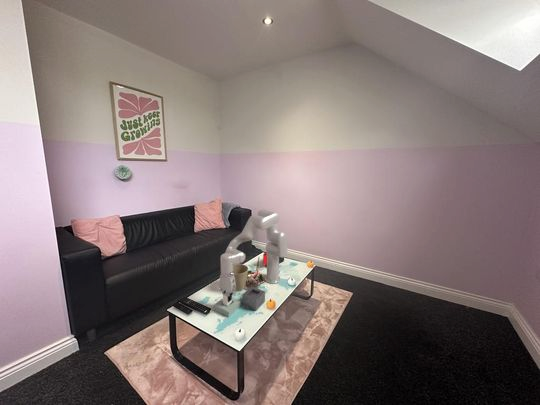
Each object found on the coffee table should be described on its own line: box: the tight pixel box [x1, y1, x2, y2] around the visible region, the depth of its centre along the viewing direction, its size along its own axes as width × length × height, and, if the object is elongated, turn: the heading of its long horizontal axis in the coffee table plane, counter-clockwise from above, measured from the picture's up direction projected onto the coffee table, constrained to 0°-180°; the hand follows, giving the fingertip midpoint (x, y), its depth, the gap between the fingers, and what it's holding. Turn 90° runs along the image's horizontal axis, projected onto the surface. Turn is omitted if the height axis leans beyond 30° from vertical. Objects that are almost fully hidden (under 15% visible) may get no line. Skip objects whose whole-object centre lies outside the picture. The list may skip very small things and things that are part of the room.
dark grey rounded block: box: [241, 286, 266, 312], centre depth 136 cm, size 11×11×8 cm
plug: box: [222, 291, 232, 306], centre depth 131 cm, size 4×3×7 cm
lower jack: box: [213, 296, 242, 318], centre depth 132 cm, size 12×12×4 cm
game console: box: [262, 252, 285, 268], centre depth 191 cm, size 28×6×15 cm, turn 137°
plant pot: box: [233, 263, 249, 292], centre depth 152 cm, size 15×15×16 cm
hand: (227, 299), depth 131 cm, fingers closed on plug, 3 cm apart
